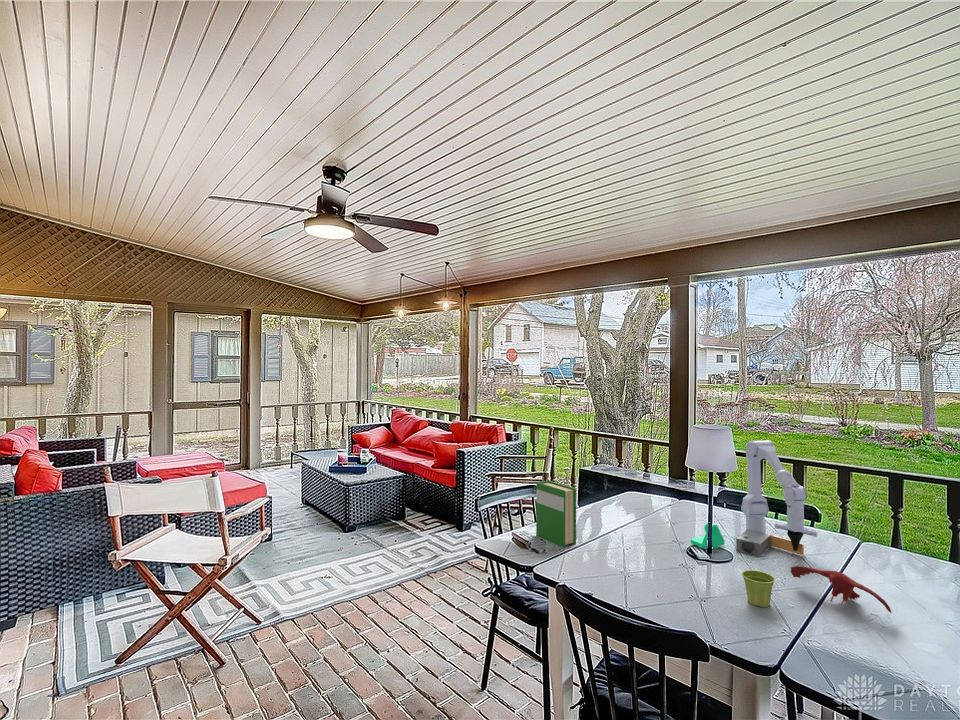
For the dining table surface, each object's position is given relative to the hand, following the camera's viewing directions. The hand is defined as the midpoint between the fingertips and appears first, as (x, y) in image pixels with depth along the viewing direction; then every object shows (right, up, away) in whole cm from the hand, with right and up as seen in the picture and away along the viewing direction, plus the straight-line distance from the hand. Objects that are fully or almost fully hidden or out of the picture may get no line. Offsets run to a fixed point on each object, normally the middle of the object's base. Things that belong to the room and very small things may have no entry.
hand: (795, 550), depth 193 cm
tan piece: (0, -2, +5) cm, 5 cm away
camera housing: (-12, -3, +8) cm, 15 cm away
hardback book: (-95, -3, +17) cm, 96 cm away
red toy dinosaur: (-11, -2, -39) cm, 41 cm away
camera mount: (-31, -3, +11) cm, 33 cm away
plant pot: (-38, -2, -39) cm, 55 cm away
